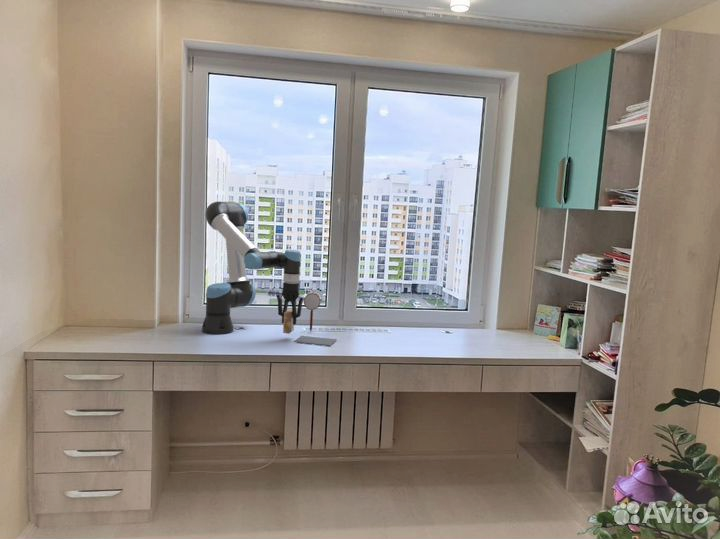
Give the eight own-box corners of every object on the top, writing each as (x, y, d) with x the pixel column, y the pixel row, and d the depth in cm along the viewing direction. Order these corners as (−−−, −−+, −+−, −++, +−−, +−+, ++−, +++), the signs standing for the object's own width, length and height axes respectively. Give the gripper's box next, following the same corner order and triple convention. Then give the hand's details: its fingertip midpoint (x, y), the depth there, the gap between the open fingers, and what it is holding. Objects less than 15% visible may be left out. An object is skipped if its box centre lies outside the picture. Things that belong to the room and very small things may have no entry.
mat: (293, 342, 245) (293, 341, 245) (301, 336, 257) (301, 335, 257) (330, 346, 242) (330, 345, 242) (336, 340, 254) (336, 339, 253)
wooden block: (283, 332, 248) (284, 312, 246) (287, 329, 254) (289, 309, 253) (289, 333, 247) (290, 313, 246) (293, 330, 254) (294, 310, 253)
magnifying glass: (319, 331, 271) (320, 293, 269) (319, 331, 269) (321, 293, 267) (302, 330, 270) (304, 292, 267) (302, 331, 268) (304, 293, 266)
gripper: (272, 281, 246) (269, 330, 248) (305, 285, 243) (302, 334, 246) (277, 279, 253) (275, 326, 256) (309, 282, 250) (306, 330, 253)
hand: (288, 330), depth 251 cm, fingers closed on wooden block, 3 cm apart
